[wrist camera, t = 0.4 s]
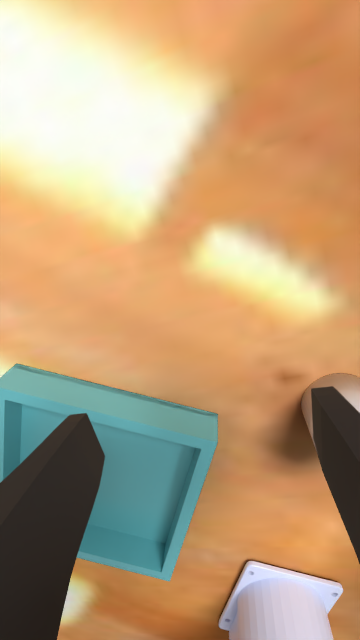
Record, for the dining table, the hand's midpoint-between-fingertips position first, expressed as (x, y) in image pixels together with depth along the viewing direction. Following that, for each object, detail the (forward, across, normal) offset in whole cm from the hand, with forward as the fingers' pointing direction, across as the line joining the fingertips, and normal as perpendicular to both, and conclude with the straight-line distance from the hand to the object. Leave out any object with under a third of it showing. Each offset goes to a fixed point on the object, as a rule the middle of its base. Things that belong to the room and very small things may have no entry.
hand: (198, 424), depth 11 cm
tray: (+9, +10, +12) cm, 18 cm away
